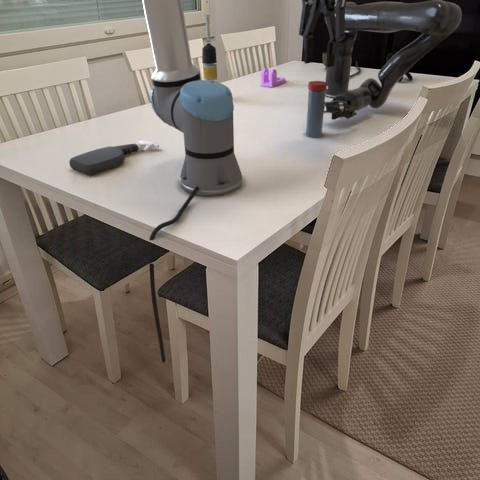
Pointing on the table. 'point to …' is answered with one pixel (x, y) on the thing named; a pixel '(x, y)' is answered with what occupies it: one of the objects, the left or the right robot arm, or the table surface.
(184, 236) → the table surface
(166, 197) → the table surface
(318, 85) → the lid
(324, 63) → the cup
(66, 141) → the table surface
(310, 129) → the jar
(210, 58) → the bottle with thin stem
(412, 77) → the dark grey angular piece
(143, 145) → the spray bottle
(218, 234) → the table surface
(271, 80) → the bracket
